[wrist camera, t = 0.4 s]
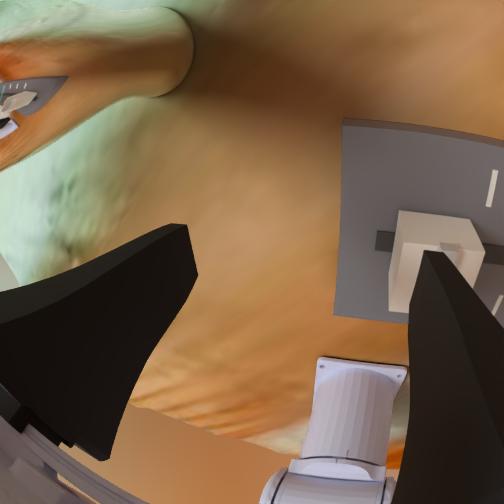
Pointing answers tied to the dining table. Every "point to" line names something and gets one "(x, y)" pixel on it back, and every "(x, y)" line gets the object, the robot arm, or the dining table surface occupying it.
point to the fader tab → (434, 239)
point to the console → (413, 206)
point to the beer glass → (80, 66)
